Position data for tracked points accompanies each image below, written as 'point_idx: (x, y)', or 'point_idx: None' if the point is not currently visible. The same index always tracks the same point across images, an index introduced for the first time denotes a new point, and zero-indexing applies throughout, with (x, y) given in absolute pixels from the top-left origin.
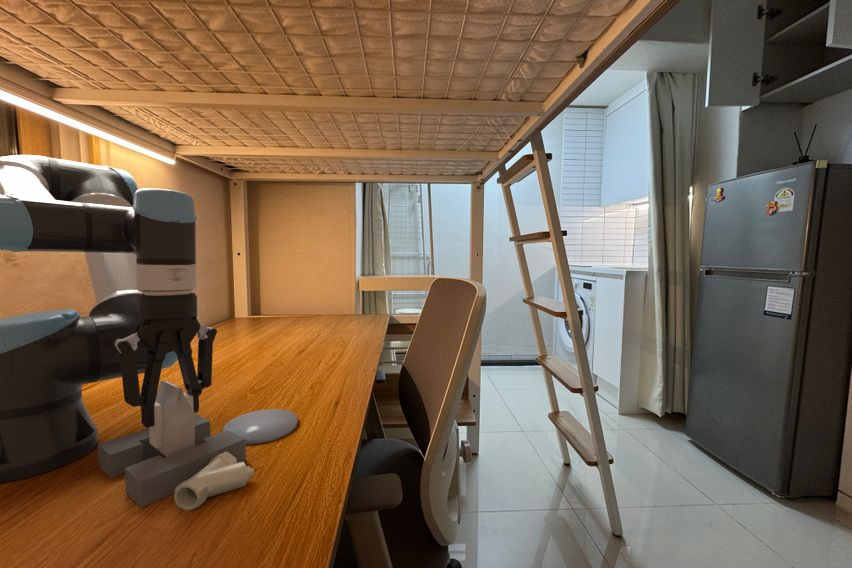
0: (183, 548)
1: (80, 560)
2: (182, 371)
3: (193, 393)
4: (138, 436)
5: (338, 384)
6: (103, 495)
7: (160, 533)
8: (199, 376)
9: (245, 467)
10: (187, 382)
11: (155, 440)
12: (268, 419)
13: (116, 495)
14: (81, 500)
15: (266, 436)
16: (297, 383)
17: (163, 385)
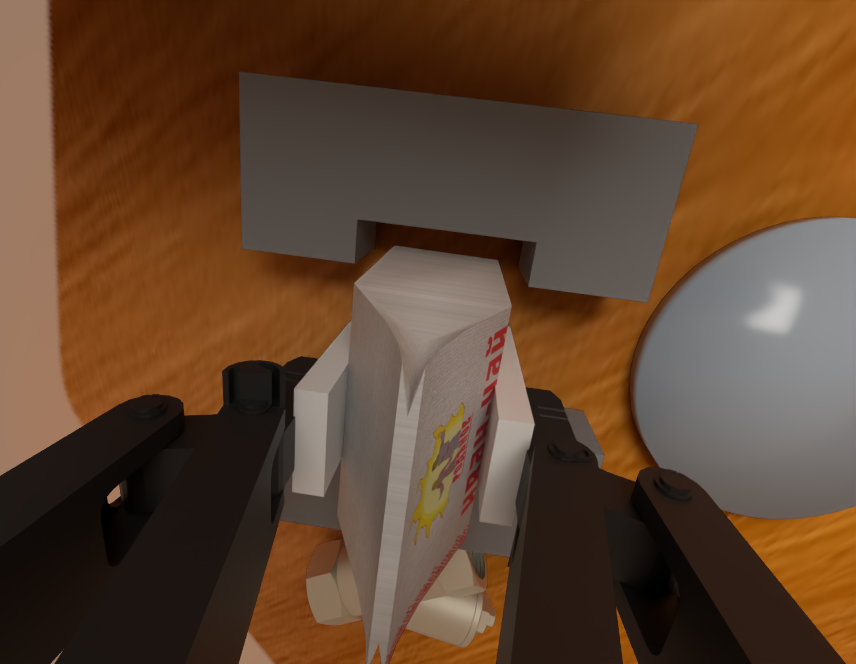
0: (278, 635)
1: None
2: (510, 616)
3: (511, 550)
4: (376, 164)
5: None
6: (239, 324)
7: (270, 572)
8: (665, 547)
9: (461, 647)
10: (512, 566)
11: None
12: (850, 385)
13: (260, 356)
14: (195, 296)
15: None
16: None
17: (392, 413)
